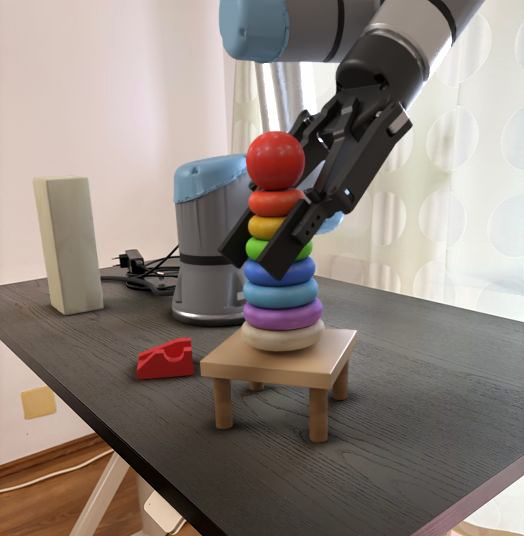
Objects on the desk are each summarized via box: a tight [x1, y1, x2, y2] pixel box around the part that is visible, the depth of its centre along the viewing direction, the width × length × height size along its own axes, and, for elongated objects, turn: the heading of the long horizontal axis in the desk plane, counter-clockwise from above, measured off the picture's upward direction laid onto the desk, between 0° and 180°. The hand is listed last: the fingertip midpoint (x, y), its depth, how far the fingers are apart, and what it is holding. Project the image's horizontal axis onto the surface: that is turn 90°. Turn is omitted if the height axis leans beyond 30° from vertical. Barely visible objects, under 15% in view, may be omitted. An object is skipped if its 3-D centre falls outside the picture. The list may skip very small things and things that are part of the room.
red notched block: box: [136, 336, 195, 381], centre depth 69 cm, size 6×5×3 cm
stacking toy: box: [240, 131, 326, 351], centre depth 53 cm, size 8×8×19 cm
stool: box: [199, 326, 358, 443], centre depth 57 cm, size 12×12×7 cm
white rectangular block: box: [31, 174, 104, 316], centre depth 95 cm, size 8×7×21 cm
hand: (247, 264), depth 51 cm, fingers closed on stacking toy, 6 cm apart
